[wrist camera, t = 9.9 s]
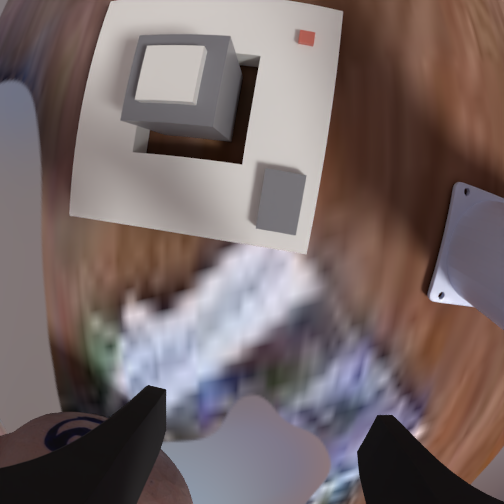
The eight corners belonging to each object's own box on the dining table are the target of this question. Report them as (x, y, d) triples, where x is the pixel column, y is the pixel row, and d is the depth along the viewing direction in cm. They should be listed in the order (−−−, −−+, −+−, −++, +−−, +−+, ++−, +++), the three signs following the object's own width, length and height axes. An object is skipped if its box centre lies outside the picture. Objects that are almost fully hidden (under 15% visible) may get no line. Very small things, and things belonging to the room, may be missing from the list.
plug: (242, 77, 16) (228, 29, 10) (231, 142, 17) (209, 124, 11) (177, 72, 16) (134, 30, 10) (165, 134, 17) (113, 118, 11)
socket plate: (336, 25, 15) (345, 6, 12) (302, 245, 18) (307, 257, 16) (123, 13, 15) (106, -3, 12) (86, 211, 18) (63, 217, 16)
